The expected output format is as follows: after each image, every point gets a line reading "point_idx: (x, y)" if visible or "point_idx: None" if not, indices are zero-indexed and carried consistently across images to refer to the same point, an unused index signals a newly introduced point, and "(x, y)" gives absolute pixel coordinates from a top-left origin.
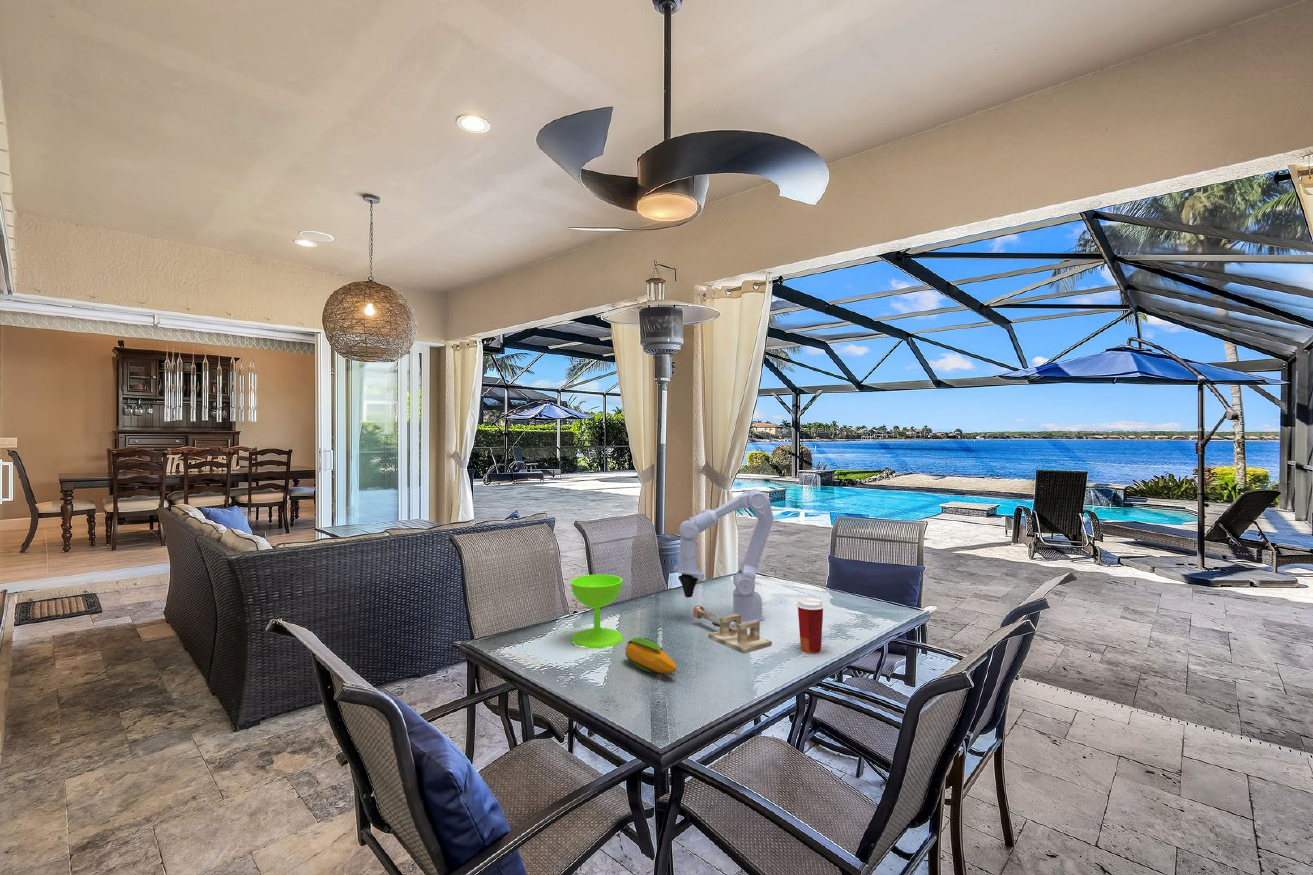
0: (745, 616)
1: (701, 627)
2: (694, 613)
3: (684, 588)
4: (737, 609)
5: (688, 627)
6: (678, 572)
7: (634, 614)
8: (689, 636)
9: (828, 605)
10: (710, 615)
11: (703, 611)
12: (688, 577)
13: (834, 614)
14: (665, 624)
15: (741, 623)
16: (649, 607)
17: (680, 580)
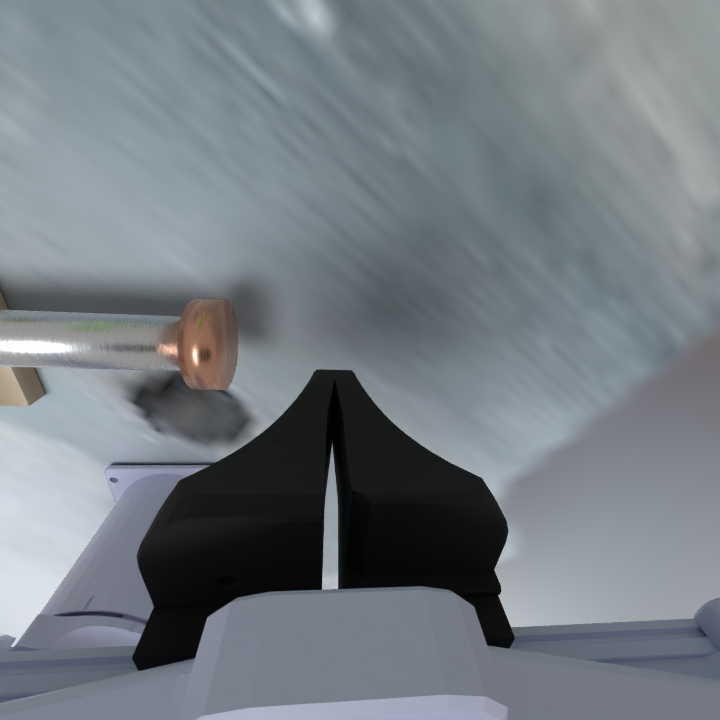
0: (111, 511)
1: (177, 289)
2: (201, 301)
3: (344, 407)
4: (126, 523)
5: (217, 223)
6: (388, 609)
7: (697, 92)
8: (23, 80)
9: None
10: (17, 328)
11: (120, 341)
12: (205, 584)
13: None
14: (362, 129)
15: (118, 466)
16: (675, 287)
17: (421, 459)
